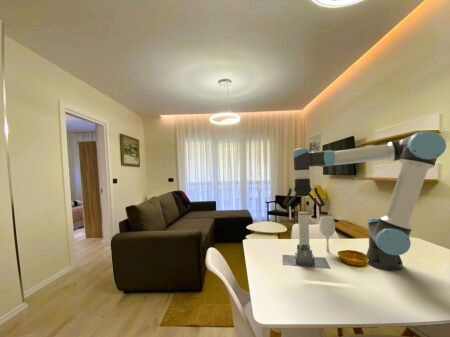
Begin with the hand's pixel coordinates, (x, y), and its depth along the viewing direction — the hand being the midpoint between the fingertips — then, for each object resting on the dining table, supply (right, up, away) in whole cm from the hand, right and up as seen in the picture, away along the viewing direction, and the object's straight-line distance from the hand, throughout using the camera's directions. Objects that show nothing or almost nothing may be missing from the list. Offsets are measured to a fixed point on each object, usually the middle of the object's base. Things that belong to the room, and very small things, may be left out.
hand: (304, 219), depth 113 cm
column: (0, -15, 0) cm, 15 cm away
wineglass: (+18, -23, +12) cm, 31 cm away
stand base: (0, -23, 0) cm, 23 cm away
